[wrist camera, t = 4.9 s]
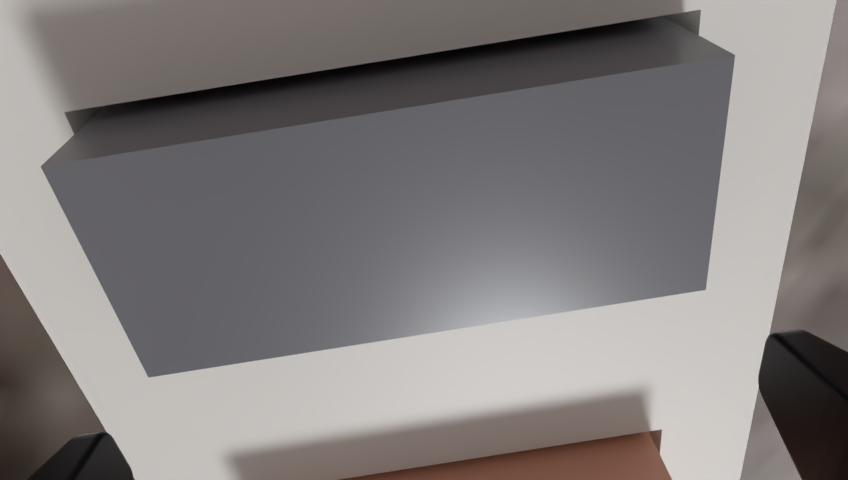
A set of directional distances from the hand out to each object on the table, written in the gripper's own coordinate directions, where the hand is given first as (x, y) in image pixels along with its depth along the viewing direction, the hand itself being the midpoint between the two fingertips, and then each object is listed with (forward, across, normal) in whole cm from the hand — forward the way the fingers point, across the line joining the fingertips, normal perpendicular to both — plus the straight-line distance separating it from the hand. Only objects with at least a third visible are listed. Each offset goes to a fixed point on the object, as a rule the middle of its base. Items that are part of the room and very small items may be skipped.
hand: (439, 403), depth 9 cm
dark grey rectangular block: (+8, 0, 0) cm, 8 cm away
